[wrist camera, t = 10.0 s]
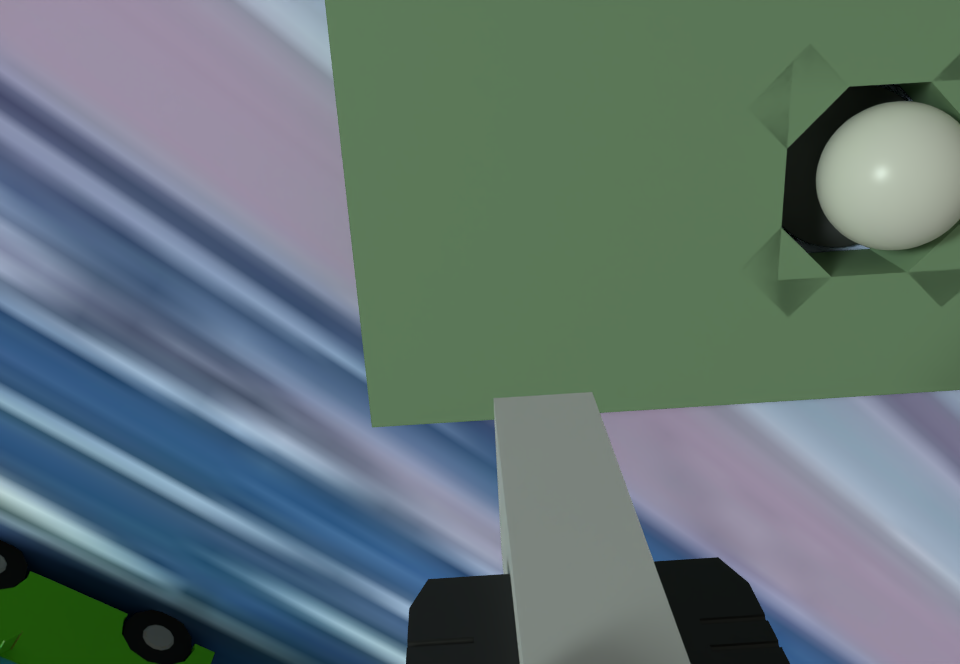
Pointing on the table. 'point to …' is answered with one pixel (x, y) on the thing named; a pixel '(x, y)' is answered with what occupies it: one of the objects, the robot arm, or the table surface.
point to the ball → (892, 176)
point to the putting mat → (630, 202)
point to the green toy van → (80, 625)
